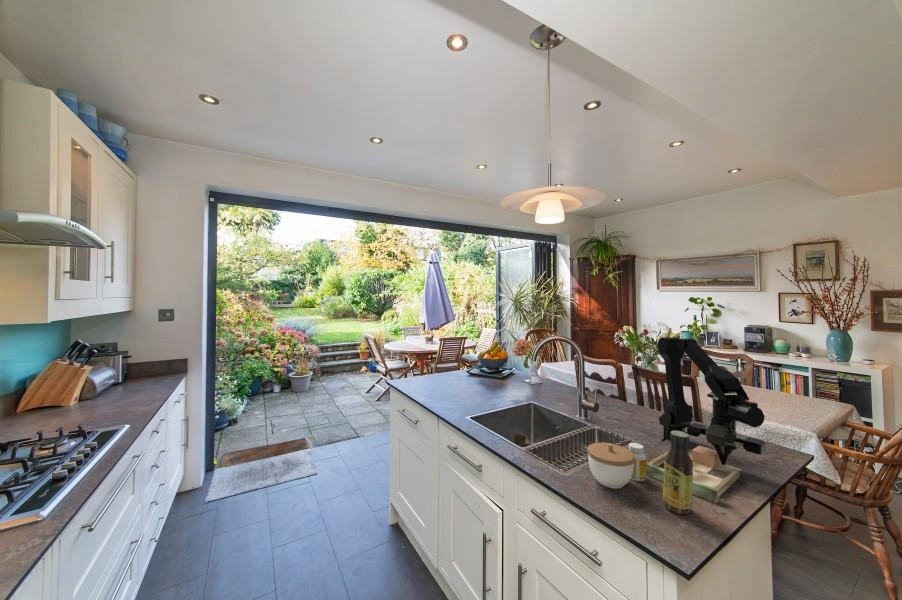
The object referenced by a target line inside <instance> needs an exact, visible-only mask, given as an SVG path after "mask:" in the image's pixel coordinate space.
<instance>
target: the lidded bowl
mask: <svg viewBox="0 0 902 600" xmlns="http://www.w3.org/2000/svg"><path fill="white" fill-rule="evenodd" d="M587 459H588V466H589V469H590V472H591V473H592V476H593V477H594V478H595V479H596V480H597V482H598V483H599V484H600V485H602V486H604V487H606V488H610V489H615V490H618V489H622V488H623V487H624V486H625V485H627V484H628V483H629V482H630V481H631V480H632V479H631V478H632V475H633V471H634V461H635V456H634V454H633V453H632V452H631V451H630V450H629V448H627V447H624V446H622V445H619V444H616V443H615V444H614V443H611V442H610V443H609V442H596V443H595V442H593V443H591V444H589V445H588V447H587Z"/></svg>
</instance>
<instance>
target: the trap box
mask: <svg viewBox="0 0 902 600" xmlns="http://www.w3.org/2000/svg"><path fill="white" fill-rule="evenodd" d="M668 451H669V450H667V451H666V452H664V453H662V454H661V455H659V456H657V457H655V458H654V459H652V460H651V461H649V462H646V476H649V477H651V478H654V479H655V480H659V481H661V482H664V467H660V466H661V465H662V464H663V465H664V461H665V458H666V456H667V454H668ZM688 454H689V456H690V458H691V459H692V452H689V451H688ZM692 462H693V471H692V472H693V483H692V495H694V496H698V497H700V498H702V499H705V500H707V501H710V502H712V503H715V504H717V503H718V502H719V501H720V500H721V499H722V497H721V495H722V494H723V493H725V492H726V491H727V490H728V488H730V487H731V486H732V485H733V484H734V483H735V482H737V480H738V479H739V478H740V475H741V474H740V473H741V471H742V469H741V468H737V467H736V466H735V467H734V466H731V465H728V464H726V465H723V464H722V463H720V464H719V465H717V466H716V467H715V468H712V467H709V466H706V465H703V464H700V463H697V462H694V461H692ZM713 469H715V470H718V471H721V472H722V473H723V472H724V473H726V474H728V475H727V476H725V477H724V479H723V478H721V477H718V476H715V475H712V474H710V473H709V472H710V471H712V470H713Z"/></svg>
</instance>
